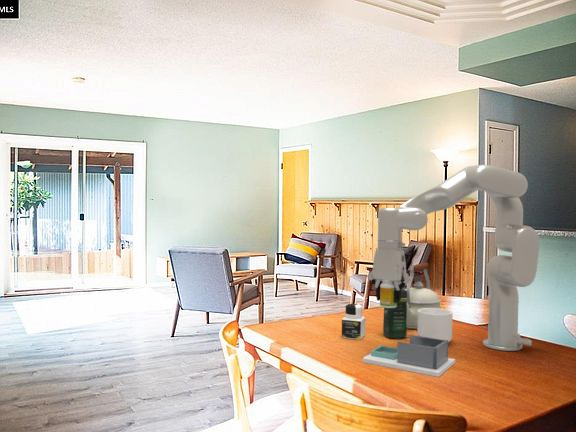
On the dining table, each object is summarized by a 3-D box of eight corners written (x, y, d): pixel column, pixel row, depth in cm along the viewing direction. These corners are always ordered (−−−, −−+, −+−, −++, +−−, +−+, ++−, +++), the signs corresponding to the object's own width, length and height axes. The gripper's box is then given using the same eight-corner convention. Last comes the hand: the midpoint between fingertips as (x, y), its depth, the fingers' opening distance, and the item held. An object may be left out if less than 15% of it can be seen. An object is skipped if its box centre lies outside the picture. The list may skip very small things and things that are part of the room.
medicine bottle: (341, 338, 192) (341, 305, 192) (346, 333, 199) (347, 302, 199) (360, 340, 190) (361, 307, 189) (365, 335, 196) (365, 303, 196)
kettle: (407, 317, 228) (408, 260, 227) (449, 323, 217) (450, 263, 216) (381, 328, 207) (382, 265, 207) (426, 336, 197) (428, 269, 196)
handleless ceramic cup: (419, 346, 182) (420, 314, 182) (414, 337, 194) (415, 307, 194) (454, 348, 181) (455, 315, 181) (448, 339, 193) (449, 308, 193)
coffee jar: (409, 339, 192) (410, 288, 191) (388, 339, 191) (388, 288, 190) (401, 332, 201) (401, 284, 201) (380, 333, 200) (381, 284, 200)
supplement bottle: (392, 309, 168) (393, 278, 168) (377, 306, 171) (377, 277, 171) (399, 306, 173) (399, 276, 173) (383, 304, 176) (384, 275, 176)
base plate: (455, 363, 164) (455, 354, 164) (438, 377, 150) (438, 367, 150) (382, 350, 177) (383, 342, 177) (362, 362, 164) (362, 353, 164)
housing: (447, 359, 163) (448, 340, 162) (436, 369, 153) (436, 348, 153) (410, 353, 169) (410, 334, 169) (397, 361, 160) (397, 342, 160)
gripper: (418, 246, 170) (417, 302, 170) (370, 243, 180) (369, 296, 180) (409, 248, 164) (408, 306, 164) (360, 244, 174) (359, 299, 174)
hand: (388, 300), depth 172 cm, fingers closed on supplement bottle, 5 cm apart
